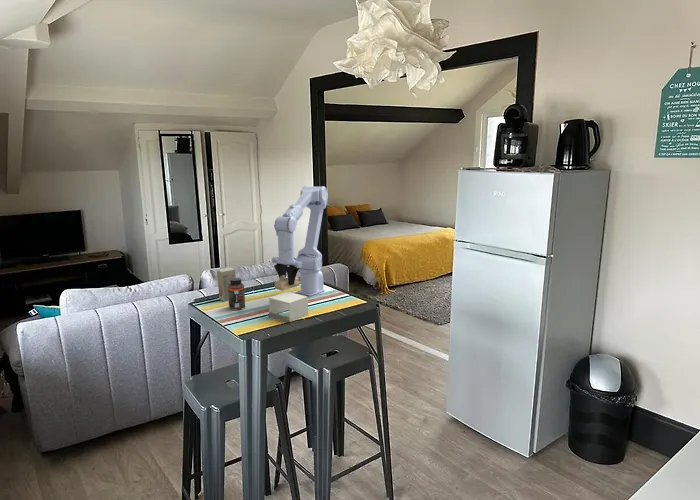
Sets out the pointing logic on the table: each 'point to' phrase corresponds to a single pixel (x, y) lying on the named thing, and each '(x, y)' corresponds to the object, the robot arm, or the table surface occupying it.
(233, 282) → the supplement bottle
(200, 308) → the table surface
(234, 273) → the skincare box
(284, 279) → the beige toy brick
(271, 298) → the open shelf unit
